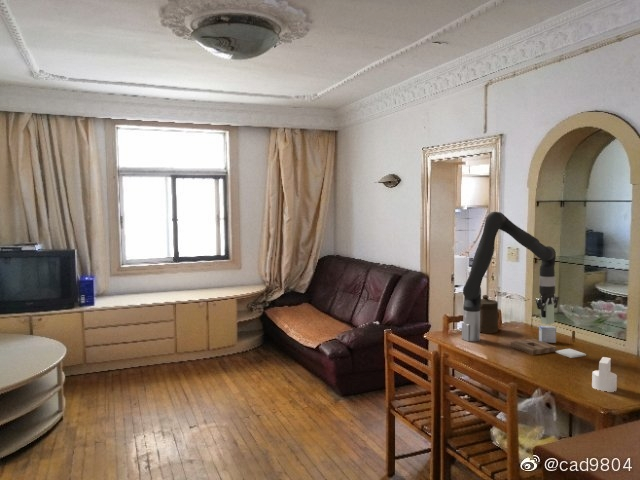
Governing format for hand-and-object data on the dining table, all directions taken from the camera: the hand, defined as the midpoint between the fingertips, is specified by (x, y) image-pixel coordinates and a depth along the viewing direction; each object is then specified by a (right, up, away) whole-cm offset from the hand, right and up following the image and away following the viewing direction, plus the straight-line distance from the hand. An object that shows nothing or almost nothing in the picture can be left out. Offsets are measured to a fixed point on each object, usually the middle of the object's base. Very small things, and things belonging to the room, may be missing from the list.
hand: (547, 316), depth 252 cm
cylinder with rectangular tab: (+1, -23, -49) cm, 54 cm away
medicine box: (+8, -17, +17) cm, 26 cm away
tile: (+10, -19, -4) cm, 21 cm away
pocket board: (-5, -18, +5) cm, 19 cm away
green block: (0, -3, 0) cm, 3 cm away
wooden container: (-18, -16, +43) cm, 49 cm away
